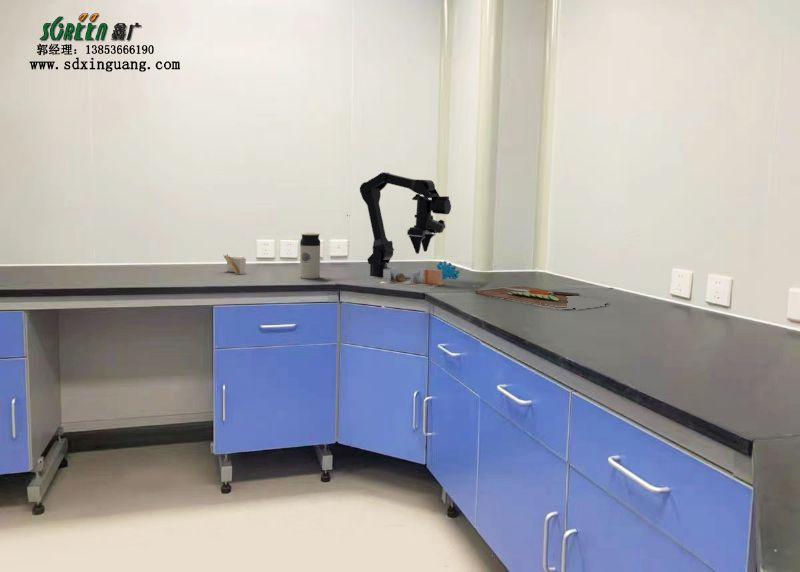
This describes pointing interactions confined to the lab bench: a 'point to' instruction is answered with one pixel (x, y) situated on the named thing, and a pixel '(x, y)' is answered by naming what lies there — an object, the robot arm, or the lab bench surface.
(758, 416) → the lab bench surface
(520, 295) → the chopping board
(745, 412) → the lab bench surface
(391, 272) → the brushed steel block
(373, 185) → the robot arm
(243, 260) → the model
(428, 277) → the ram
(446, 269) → the gear
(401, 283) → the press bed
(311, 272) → the travel mug
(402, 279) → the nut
